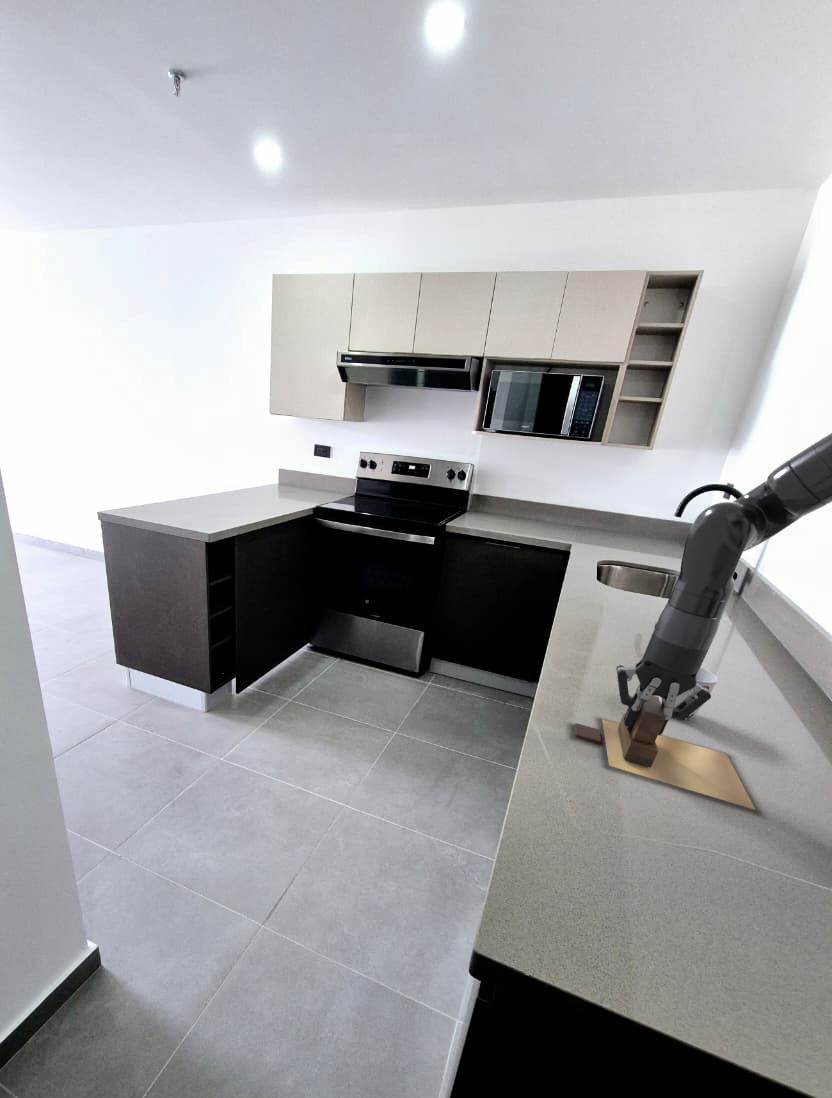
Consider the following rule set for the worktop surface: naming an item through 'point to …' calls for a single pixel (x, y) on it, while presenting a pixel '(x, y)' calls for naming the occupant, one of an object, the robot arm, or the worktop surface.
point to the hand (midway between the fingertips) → (640, 730)
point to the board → (683, 767)
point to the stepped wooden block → (643, 733)
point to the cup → (702, 679)
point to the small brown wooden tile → (587, 733)
